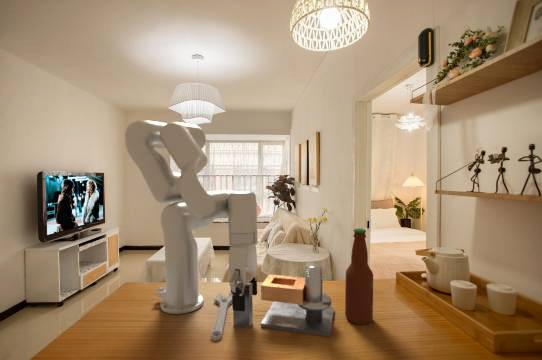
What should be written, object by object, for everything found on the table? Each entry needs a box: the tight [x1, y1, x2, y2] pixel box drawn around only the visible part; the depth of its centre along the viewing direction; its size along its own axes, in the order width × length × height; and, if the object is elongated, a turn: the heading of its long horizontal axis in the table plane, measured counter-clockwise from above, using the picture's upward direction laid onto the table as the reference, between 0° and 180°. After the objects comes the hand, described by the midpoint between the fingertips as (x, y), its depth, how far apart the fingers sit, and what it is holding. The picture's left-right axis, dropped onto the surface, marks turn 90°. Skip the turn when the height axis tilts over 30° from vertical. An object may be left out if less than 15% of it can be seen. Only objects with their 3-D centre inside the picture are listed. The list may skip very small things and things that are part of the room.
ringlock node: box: [260, 263, 335, 338], centre depth 82 cm, size 19×14×15 cm
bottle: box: [344, 228, 374, 326], centre depth 82 cm, size 7×7×25 cm
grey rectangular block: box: [232, 283, 254, 329], centre depth 79 cm, size 4×2×11 cm, turn 75°
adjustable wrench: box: [210, 291, 232, 341], centre depth 85 cm, size 25×6×2 cm, turn 178°
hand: (245, 302), depth 79 cm, fingers open, 9 cm apart
